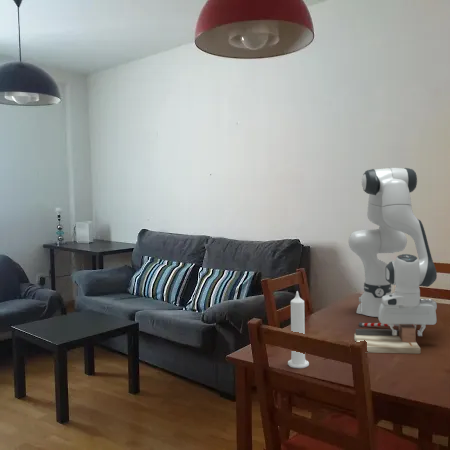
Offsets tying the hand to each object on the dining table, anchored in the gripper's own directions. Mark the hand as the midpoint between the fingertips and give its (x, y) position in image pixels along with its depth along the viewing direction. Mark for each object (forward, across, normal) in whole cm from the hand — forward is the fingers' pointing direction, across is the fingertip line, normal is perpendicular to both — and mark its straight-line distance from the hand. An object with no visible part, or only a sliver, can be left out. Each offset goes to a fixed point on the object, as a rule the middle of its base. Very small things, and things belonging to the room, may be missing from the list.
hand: (406, 335), depth 184 cm
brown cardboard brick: (+1, 0, 0) cm, 1 cm away
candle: (+4, +40, +24) cm, 47 cm away
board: (+3, +8, +2) cm, 9 cm away
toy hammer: (+4, +2, -19) cm, 19 cm away
